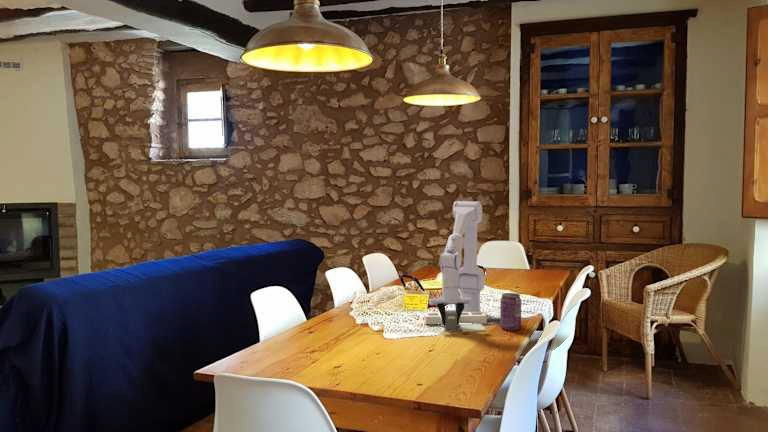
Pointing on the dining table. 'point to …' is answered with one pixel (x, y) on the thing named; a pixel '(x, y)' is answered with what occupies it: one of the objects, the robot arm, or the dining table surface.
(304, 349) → the dining table surface
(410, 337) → the dining table surface
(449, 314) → the block
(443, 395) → the dining table surface
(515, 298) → the beverage can
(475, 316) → the power strip
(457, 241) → the robot arm
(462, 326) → the coaster
